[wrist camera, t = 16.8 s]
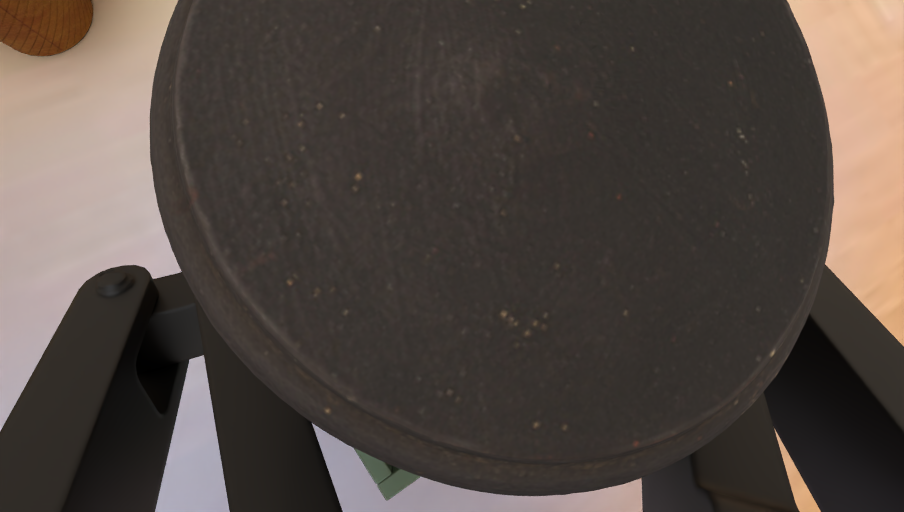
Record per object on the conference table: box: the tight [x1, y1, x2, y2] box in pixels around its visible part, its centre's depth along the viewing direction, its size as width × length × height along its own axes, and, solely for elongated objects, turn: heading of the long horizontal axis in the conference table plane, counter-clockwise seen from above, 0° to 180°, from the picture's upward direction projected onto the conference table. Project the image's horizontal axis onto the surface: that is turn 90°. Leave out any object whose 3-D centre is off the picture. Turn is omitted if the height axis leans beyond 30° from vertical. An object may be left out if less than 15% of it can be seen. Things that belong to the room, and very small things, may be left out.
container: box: [150, 0, 834, 496], centre depth 15 cm, size 9×9×20 cm
